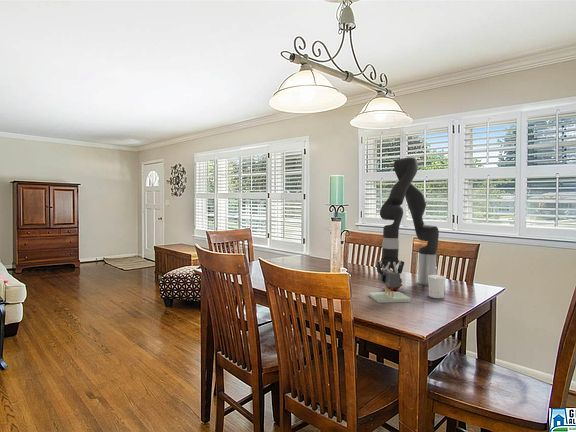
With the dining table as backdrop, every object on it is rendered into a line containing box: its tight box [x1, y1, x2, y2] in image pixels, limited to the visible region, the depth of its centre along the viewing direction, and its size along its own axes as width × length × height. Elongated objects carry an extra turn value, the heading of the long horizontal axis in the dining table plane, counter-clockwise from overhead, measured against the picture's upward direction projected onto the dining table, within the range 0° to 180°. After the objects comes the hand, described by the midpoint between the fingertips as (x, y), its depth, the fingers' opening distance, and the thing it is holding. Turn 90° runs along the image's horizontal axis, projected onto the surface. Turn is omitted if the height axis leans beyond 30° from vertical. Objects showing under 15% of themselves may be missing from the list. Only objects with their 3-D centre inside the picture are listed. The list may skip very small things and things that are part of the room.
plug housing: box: [378, 268, 401, 288], centre depth 173 cm, size 5×12×6 cm, turn 8°
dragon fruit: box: [385, 277, 403, 292], centre depth 190 cm, size 8×8×12 cm
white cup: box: [427, 274, 447, 299], centre depth 178 cm, size 8×8×10 cm
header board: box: [368, 286, 412, 304], centre depth 174 cm, size 16×12×4 cm
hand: (389, 282), depth 173 cm, fingers closed on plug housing, 5 cm apart
